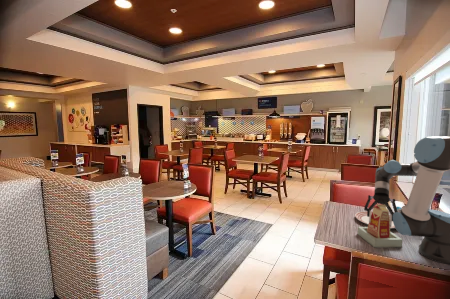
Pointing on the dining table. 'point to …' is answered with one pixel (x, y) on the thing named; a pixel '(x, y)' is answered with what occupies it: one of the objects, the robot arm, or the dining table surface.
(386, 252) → the dining table surface
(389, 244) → the carton caddy
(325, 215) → the dining table surface
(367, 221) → the dinner plate
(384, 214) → the milk carton
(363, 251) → the dining table surface
